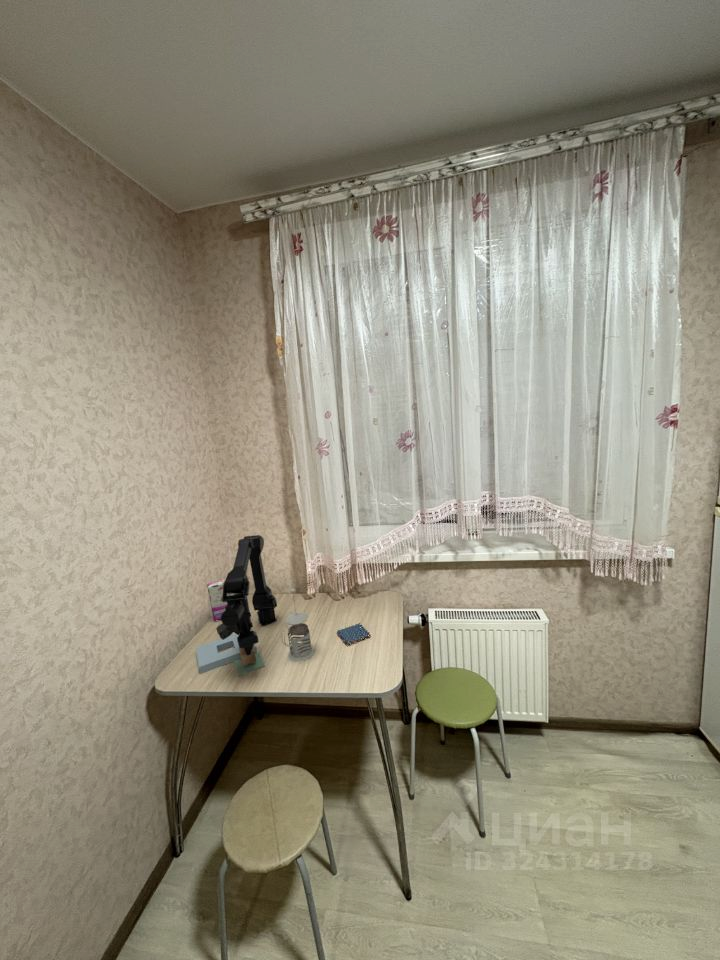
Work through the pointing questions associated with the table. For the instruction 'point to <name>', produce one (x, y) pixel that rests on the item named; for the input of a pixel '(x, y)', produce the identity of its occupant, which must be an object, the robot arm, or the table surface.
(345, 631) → the woven mat
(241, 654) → the walnut block
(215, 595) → the candy bar box
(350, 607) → the table surface
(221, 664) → the pocket board
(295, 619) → the french press
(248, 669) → the green pad
